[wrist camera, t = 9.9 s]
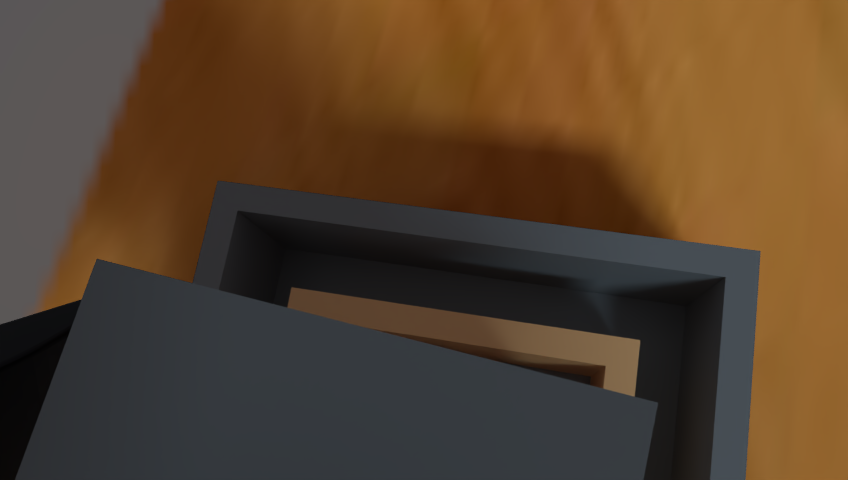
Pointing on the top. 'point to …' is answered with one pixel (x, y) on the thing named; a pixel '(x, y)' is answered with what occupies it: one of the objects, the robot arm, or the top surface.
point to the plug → (304, 399)
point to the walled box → (516, 302)
